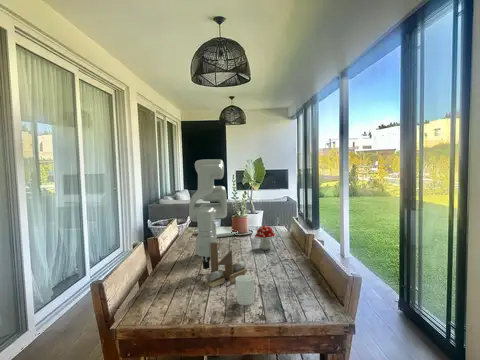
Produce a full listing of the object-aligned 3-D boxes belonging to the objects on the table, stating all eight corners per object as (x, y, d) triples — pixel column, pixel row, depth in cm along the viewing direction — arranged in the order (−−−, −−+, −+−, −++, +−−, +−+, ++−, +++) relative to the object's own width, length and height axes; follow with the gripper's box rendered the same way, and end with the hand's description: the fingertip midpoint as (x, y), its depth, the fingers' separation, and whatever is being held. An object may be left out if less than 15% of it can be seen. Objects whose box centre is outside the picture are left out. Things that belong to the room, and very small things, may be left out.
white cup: (235, 298, 146) (234, 275, 146) (254, 297, 147) (253, 274, 146) (236, 306, 139) (236, 281, 138) (256, 305, 139) (255, 280, 139)
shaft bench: (205, 285, 164) (204, 273, 163) (239, 270, 184) (239, 260, 184) (220, 289, 158) (220, 277, 157) (254, 273, 178) (254, 263, 178)
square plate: (206, 240, 259) (206, 235, 259) (193, 234, 283) (193, 229, 283) (239, 236, 272) (238, 231, 271) (224, 230, 296) (224, 225, 296)
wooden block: (232, 279, 171) (231, 242, 170) (210, 279, 171) (209, 243, 170) (232, 276, 175) (231, 241, 174) (211, 277, 175) (210, 241, 174)
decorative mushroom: (251, 250, 225) (251, 227, 225) (258, 245, 238) (258, 223, 237) (272, 252, 220) (272, 228, 219) (278, 246, 233) (278, 224, 232)
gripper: (189, 233, 182) (191, 267, 183) (210, 236, 173) (212, 273, 174) (199, 230, 188) (201, 264, 189) (220, 233, 178) (221, 269, 180)
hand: (206, 268), depth 181 cm, fingers closed
